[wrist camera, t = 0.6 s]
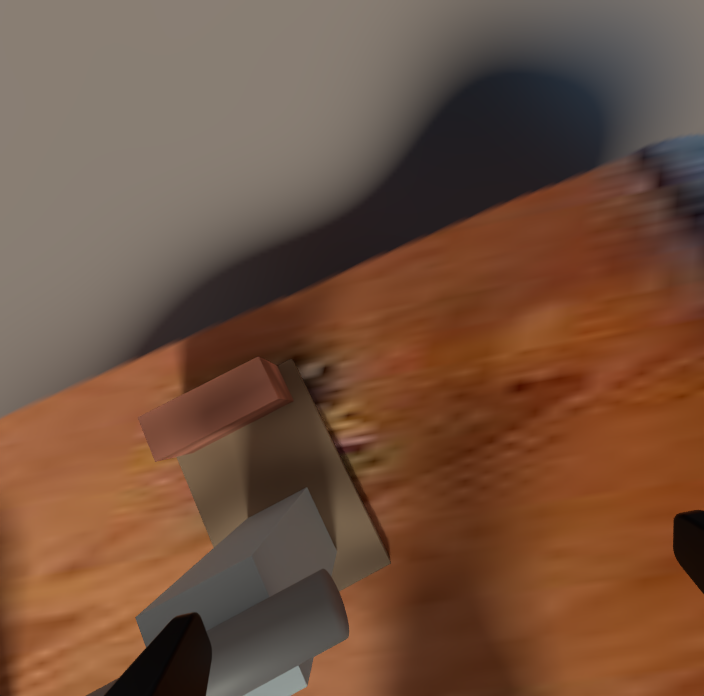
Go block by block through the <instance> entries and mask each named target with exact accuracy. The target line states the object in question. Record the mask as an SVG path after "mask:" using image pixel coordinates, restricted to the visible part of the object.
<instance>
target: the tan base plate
mask: <svg viewBox="0 0 704 696" xmlns="http://www.w3.org/2000/svg"><path fill="white" fill-rule="evenodd" d="M138 420H139V422H140V425H141V427H142V430H143V432H144V435H145V437H146V440H147V442H148V445H149V447H150V450H151V452H152V455H153V457H154V460H155V462H157V461H161V460H165V459H169V458H174V457H177V459H178V461H179V464H180V466H181V469H182V471H183V474H184V476H185V479H186V481H187V483H188V486H189V488H190V491H191V493H192V496H193V498H194V501H195V503H196V505H197V508H198V510H199V513H200V515H201V518H202V520H203V522H204V525H205V527H206V530H207V532H208V535H209V537H210V540H211V542H212V544H213V547H216V546H217V545H218V544H219V543H220V542H221V541H222V540H223V539H225V538H226V537H227V536H228V535H229V534H230V533H231V532H233V531H234V530H235V529H236V528H237V527H238V526H239V525H240V524H242V523H243V522H244V521H245V520H246V519H247V518H249V517H251V516H253V515H255V514H257V513H259V512H261V511H262V510H264V509H266V508H268V507H270V506H272V505H274V504H276V503H278V502H280V501H281V500H283V499H285V498H287V497H289V496H291V495H293V494H295V493H297V492H299V491H300V490H302V489H304V488H306V487H307V488H308V490H309V492H310V495H311V497H312V499H313V501H314V503H315V505H316V507H317V510H318V512H319V514H320V516H321V518H322V520H323V523H324V525H325V527H326V529H327V531H328V533H329V535H330V538H331V540H332V542H333V544H334V546H335V548H336V550H337V553H336V558H335V562H334V567H333V571H332V576H331V577H332V579H333V580H334V582H335V584H336V586H337V588H338V591H341V590H342V589H344V588H346V587H348V586H350V585H352V584H354V583H355V582H357V581H359V580H361V579H363V578H365V577H367V576H368V575H370V574H372V573H374V572H376V571H378V570H379V569H381V568H383V567H385V566H387V565H389V564H391V561H390V557H389V555H388V553H387V551H386V549H385V547H384V545H383V542H382V540H381V538H380V536H379V534H378V532H377V530H376V528H375V526H374V524H373V522H372V520H371V518H370V516H369V514H368V512H367V510H366V508H365V506H364V504H363V502H362V499H361V497H360V495H359V493H358V491H357V489H356V487H355V485H354V483H353V481H352V479H351V477H350V475H349V473H348V471H347V469H346V467H345V465H344V463H343V461H342V459H341V456H340V454H339V452H338V450H337V448H336V446H335V444H334V442H333V440H332V438H331V436H330V434H329V432H328V430H327V428H326V426H325V424H324V422H323V420H322V418H321V416H320V413H319V411H318V409H317V407H316V405H315V403H314V401H313V399H312V397H311V395H310V393H309V391H308V389H307V387H306V385H305V383H304V381H303V379H302V377H301V375H300V373H299V370H298V368H297V366H296V364H295V362H294V360H292V359H289V360H287V361H285V362H284V363H282V364H280V365H278V366H277V365H275V364H273V363H271V362H269V361H267V360H265V359H263V358H261V357H259V356H258V357H256V358H254V359H252V360H250V361H248V362H246V363H244V364H242V365H240V366H238V367H236V368H234V369H232V370H230V371H228V372H226V373H224V374H222V375H220V376H218V377H216V378H214V379H212V380H210V381H208V382H206V383H204V384H203V385H201V386H199V387H197V388H195V389H193V390H191V391H189V392H187V393H185V394H183V395H181V396H179V397H177V398H175V399H173V400H171V401H169V402H167V403H165V404H163V405H161V406H159V407H157V408H155V409H153V410H151V411H149V412H147V413H145V414H143V415H141V416H139V417H138Z"/></svg>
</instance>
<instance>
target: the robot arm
mask: <svg viewBox="0 0 704 696" xmlns="http://www.w3.org/2000/svg"><path fill="white" fill-rule="evenodd" d="M673 551H674V554H675V557H676V559H677V561H678V562H679V564H680V565H681V567H682V568H683V569H684V570H685V572H686V573H687V574H688V575H689V577H690V578H691V579H692V580H693V581H694V583H695V584H696V585H697V586H698V588H699V589H700V590H701V591H702V593H703V594H704V511H702V510H693V511H688V512H683V513H679V514H677V515H676V516H675V518H674V526H673ZM211 662H212V646H211V642H210V639H209V637H208V634H207V632H206V629H205V626H204V624H203V621H202V618H201V616H200V615H199V614H198V613H197V612H192V613H187V614H182V615H178V616H176V617H174V618H173V619H172V620H171V621H170V622H169V623H168V624H167V625H166V626H165V627H164V629H163V630H162V631H161V632H160V633H159V634H158V635H157V636H156V637H155V639H154V640H153V641H152V642H151V643H150V644H149V645H148V646H147V647H146V649H145V650H144V651H143V652H142V653H141V654H140V655H139V656H138V658H137V659H136V660H135V661H134V662H133V663H132V664H131V665H130V666H129V668H128V669H127V670H126V671H125V672H124V673H123V674H122V675H121V676H120V678H119V679H118V680H117V681H116V682H115V683H114V684H113V685H112V687H111V688H110V689H109V690H108V691H107V692H106V693H105V694H104V695H103V696H206V693H207V687H208V680H209V674H210V668H211Z"/></svg>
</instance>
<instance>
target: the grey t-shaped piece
mask: <svg viewBox="0 0 704 696" xmlns="http://www.w3.org/2000/svg"><path fill="white" fill-rule="evenodd" d="M336 553H337V550H336V548H335V546H334V544H333V542H332V540H331V538H330V535H329V533H328V531H327V529H326V527H325V525H324V523H323V520H322V518H321V516H320V514H319V512H318V510H317V507H316V505H315V503H314V501H313V499H312V497H311V495H310V492H309V490H308V488H307V487H306V488H304V489H302V490H300V491H299V492H297V493H295V494H293V495H291V496H289V497H287V498H285V499H283V500H281V501H280V502H278V503H276V504H274V505H272V506H270V507H268V508H266V509H264V510H262V511H261V512H259V513H257V514H255V515H253V516H251V517H249V518H247V519H246V520H245V521H244V522H243V523H242V524H240V525H239V526H238V527H237V528H236V529H235V530H234V531H233V532H231V533H230V534H229V535H228V536H227V537H226V538H225V539H223V540H222V541H221V542H220V543H219V544H218V545H217V546H216V547H214V548H213V549H212V550H211V551H210V552H209V553H208V554H207V555H205V556H204V557H203V558H202V559H201V560H200V561H199V562H197V563H196V564H195V565H194V566H193V567H192V568H191V569H190V570H188V571H187V572H186V573H185V574H184V575H183V576H182V577H181V578H179V579H178V580H177V581H176V582H175V583H174V584H173V585H172V586H170V587H169V588H168V589H167V590H166V591H165V592H164V593H162V594H161V595H160V596H159V597H158V598H157V599H156V600H155V601H153V602H152V603H151V604H150V605H149V606H148V607H147V608H146V609H144V610H143V611H142V612H141V613H140V614H139V615H138V616H136V617H135V618H136V621H137V623H138V626H139V629H140V632H141V634H142V637H143V640H144V643H145V645H146V647H147V646H148V645H149V644H150V643H151V642H152V641H153V640H154V639H155V637H156V636H157V635H158V634H159V633H160V632H161V631H162V630H163V629H164V627H165V626H166V625H167V624H168V623H169V622H170V621H171V620H172V619H173V618H174V617H176V616H178V615H182V614H187V613H192V612H197V613H198V614H199V615H200V616H201V618H202V621H203V624H204V626H205V629H206V632H207V634H208V637H209V639H210V642H211V646H212V662H211V668H210V674H209V680H208V687H207V693H206V696H290V695H292V694H294V693H296V692H298V691H300V690H301V689H303V688H305V687H307V685H308V681H309V676H310V671H311V667H312V662H313V658H314V657H315V656H316V655H318V654H320V653H322V652H324V651H326V650H327V649H329V648H331V647H333V646H335V645H337V644H338V643H340V642H342V641H344V640H346V639H347V638H348V636H349V625H348V619H347V615H346V611H345V607H344V604H343V601H342V598H341V596H340V593H339V591H338V588H337V586H336V584H335V582H334V580H333V579H332V577H331V576H332V571H333V567H334V562H335V558H336ZM118 679H119V678H118ZM118 679H116V680H114V681H112V682H110V683H109V684H107V685H105V686H103V687H101V688H99V689H97V690H96V691H94V692H92V693H90V694H88V695H86V696H103V695H104V694H105V693H106V692H107V691H108V690H109V689H110V688H111V687H112V685H113V684H114V683H115V682H116V681H117V680H118Z"/></svg>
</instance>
